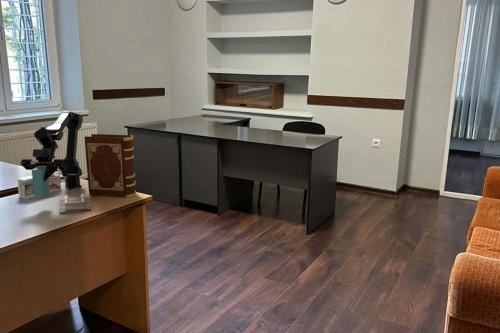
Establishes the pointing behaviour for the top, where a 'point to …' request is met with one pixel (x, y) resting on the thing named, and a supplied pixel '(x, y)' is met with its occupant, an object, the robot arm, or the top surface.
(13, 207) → the top surface
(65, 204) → the book stand
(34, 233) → the top surface
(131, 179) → the decorative book
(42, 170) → the teal rectangular block
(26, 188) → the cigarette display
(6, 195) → the top surface
